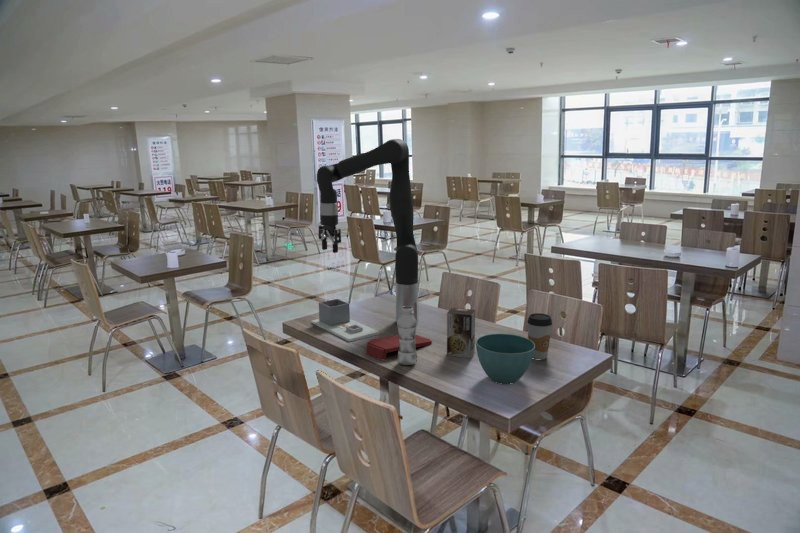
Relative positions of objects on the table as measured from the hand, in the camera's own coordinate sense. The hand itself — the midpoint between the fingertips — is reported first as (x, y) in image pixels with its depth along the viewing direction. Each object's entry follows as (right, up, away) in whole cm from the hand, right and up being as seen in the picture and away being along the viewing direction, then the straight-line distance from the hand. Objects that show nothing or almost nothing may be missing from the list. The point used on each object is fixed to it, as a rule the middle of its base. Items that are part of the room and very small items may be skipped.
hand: (329, 251), depth 238 cm
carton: (+30, -37, -34) cm, 59 cm away
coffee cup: (+79, -39, -43) cm, 98 cm away
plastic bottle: (+33, -40, -49) cm, 71 cm away
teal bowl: (+63, -43, -61) cm, 98 cm away
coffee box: (+52, -38, -40) cm, 76 cm away
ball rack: (+7, -32, -12) cm, 35 cm away
